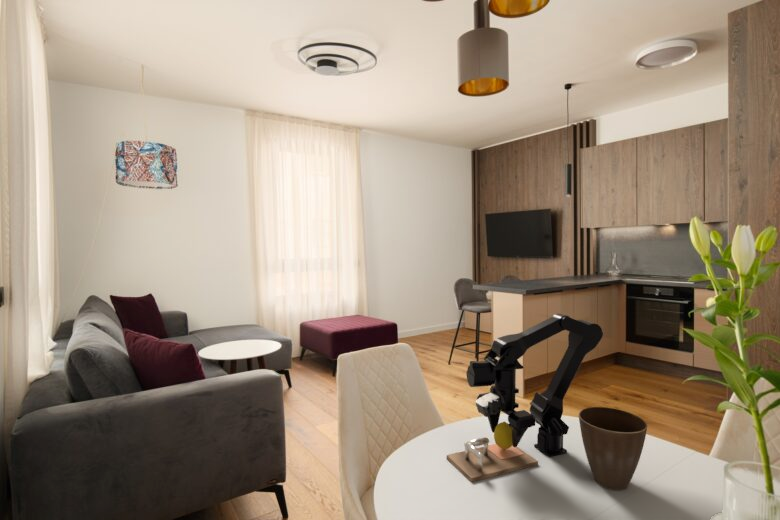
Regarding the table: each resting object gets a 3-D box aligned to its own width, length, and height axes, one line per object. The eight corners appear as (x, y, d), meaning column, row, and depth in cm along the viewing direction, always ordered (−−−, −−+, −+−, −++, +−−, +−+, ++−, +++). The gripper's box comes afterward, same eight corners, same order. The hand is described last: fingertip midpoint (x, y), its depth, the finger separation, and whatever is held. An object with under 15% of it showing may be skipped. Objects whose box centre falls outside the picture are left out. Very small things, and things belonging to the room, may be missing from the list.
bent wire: (486, 452, 116) (486, 436, 116) (503, 466, 109) (504, 448, 109) (463, 458, 113) (463, 441, 113) (479, 472, 106) (479, 454, 106)
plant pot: (619, 507, 94) (621, 438, 93) (564, 474, 107) (565, 413, 107) (658, 489, 101) (660, 424, 100) (602, 460, 114) (603, 402, 113)
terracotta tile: (506, 442, 122) (506, 441, 122) (523, 454, 115) (523, 453, 115) (484, 447, 119) (484, 446, 119) (501, 460, 112) (501, 459, 112)
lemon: (515, 455, 114) (515, 427, 114) (494, 453, 115) (494, 425, 115) (513, 446, 120) (513, 418, 119) (493, 444, 121) (493, 416, 120)
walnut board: (509, 444, 123) (509, 441, 123) (538, 464, 112) (538, 461, 112) (446, 458, 115) (446, 455, 115) (471, 482, 104) (471, 478, 104)
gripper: (461, 377, 122) (461, 430, 123) (502, 400, 105) (501, 461, 106) (493, 372, 126) (492, 423, 127) (537, 394, 109) (536, 452, 110)
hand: (504, 439), depth 117 cm, fingers open, 9 cm apart
